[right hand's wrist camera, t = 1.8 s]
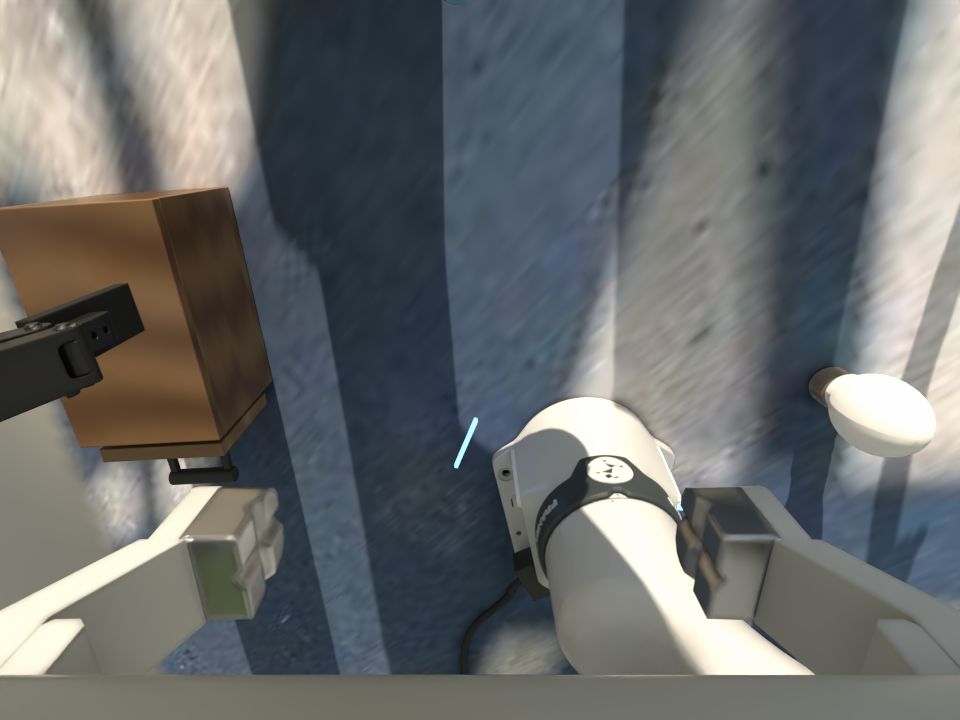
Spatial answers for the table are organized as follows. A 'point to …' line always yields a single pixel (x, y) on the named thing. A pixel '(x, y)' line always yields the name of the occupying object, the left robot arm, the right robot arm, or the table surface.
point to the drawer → (191, 452)
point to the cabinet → (149, 308)
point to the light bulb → (875, 411)
